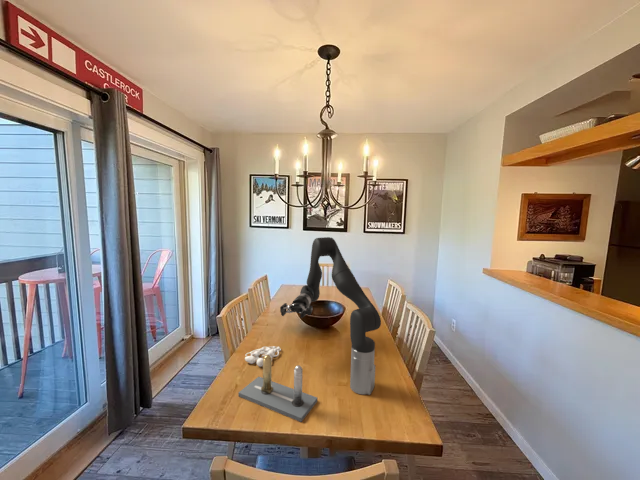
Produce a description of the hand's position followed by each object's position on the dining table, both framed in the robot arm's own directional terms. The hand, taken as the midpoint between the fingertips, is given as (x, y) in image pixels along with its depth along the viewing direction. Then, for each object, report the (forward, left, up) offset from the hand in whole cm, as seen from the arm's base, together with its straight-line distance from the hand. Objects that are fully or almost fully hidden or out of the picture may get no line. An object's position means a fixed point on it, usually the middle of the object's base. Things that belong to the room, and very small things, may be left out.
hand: (291, 314), depth 124 cm
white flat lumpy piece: (+19, -3, -26) cm, 32 cm away
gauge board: (-6, +18, -26) cm, 32 cm away
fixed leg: (-15, +18, -24) cm, 34 cm away
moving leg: (-1, +18, -24) cm, 30 cm away
